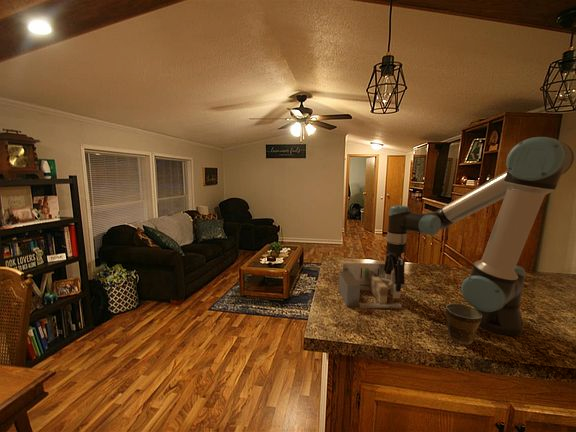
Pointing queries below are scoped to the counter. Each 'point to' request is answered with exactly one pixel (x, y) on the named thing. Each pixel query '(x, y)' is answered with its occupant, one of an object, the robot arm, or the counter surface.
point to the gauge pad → (379, 289)
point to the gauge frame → (360, 283)
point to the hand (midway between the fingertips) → (392, 292)
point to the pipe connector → (391, 282)
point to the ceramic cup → (462, 322)
